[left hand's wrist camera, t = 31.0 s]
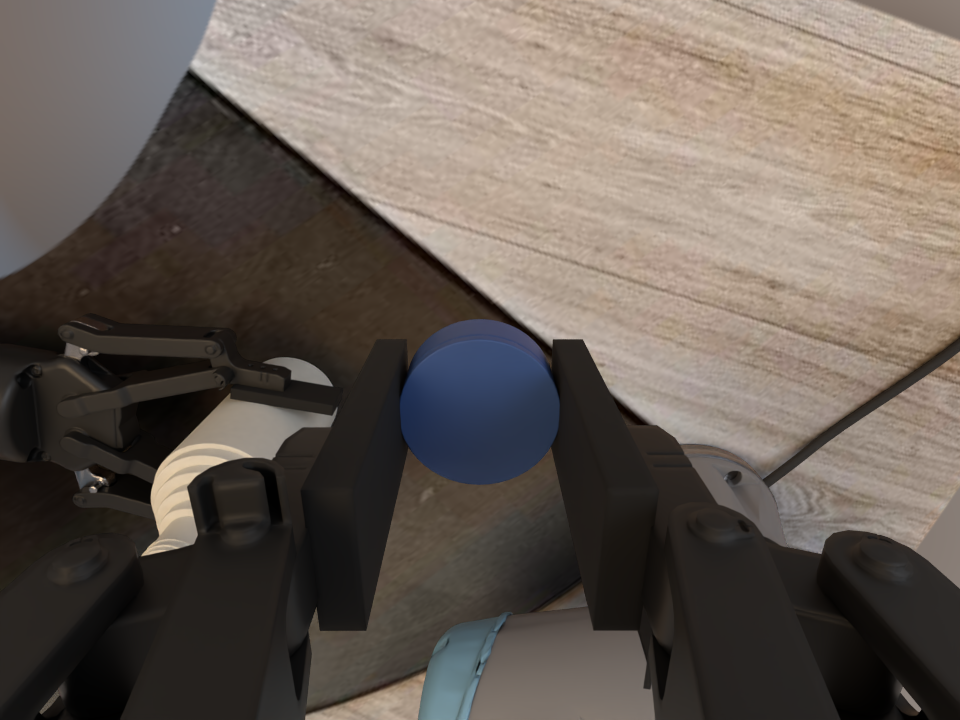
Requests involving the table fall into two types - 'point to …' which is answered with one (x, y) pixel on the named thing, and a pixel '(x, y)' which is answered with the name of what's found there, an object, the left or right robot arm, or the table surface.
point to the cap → (479, 403)
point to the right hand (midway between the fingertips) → (331, 453)
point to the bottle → (225, 451)
